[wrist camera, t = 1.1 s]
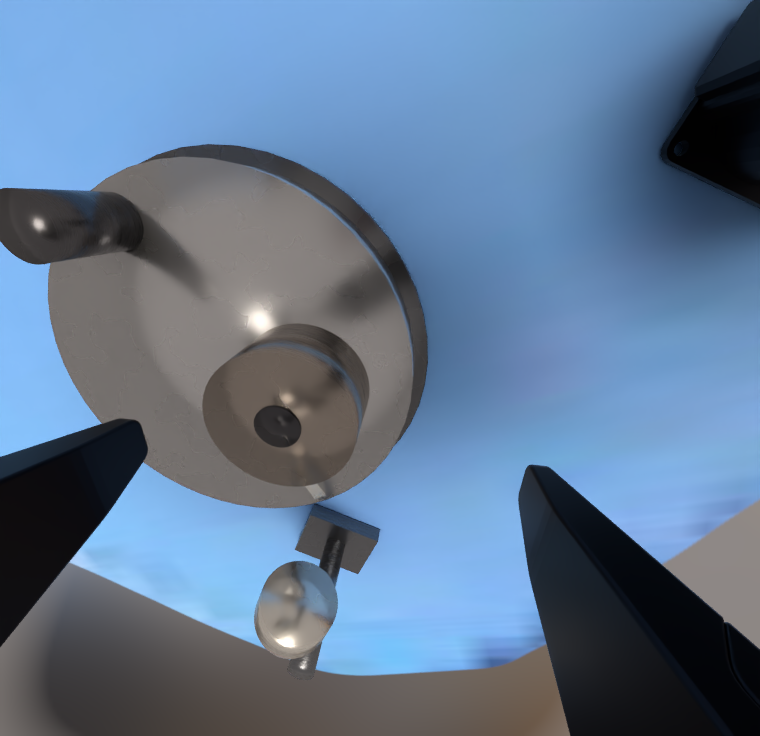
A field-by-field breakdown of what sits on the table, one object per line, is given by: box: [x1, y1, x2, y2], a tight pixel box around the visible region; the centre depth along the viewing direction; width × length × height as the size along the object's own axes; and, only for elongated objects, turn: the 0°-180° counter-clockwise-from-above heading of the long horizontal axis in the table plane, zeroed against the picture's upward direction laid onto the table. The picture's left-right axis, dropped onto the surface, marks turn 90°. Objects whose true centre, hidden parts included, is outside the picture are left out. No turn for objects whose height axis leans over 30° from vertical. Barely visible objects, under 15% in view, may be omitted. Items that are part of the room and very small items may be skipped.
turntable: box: [0, 157, 414, 508], centre depth 17 cm, size 19×19×6 cm
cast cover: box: [202, 323, 370, 487], centre depth 16 cm, size 7×7×4 cm
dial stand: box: [254, 504, 380, 680], centre depth 21 cm, size 6×5×9 cm
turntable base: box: [140, 144, 428, 444], centre depth 20 cm, size 20×20×1 cm
